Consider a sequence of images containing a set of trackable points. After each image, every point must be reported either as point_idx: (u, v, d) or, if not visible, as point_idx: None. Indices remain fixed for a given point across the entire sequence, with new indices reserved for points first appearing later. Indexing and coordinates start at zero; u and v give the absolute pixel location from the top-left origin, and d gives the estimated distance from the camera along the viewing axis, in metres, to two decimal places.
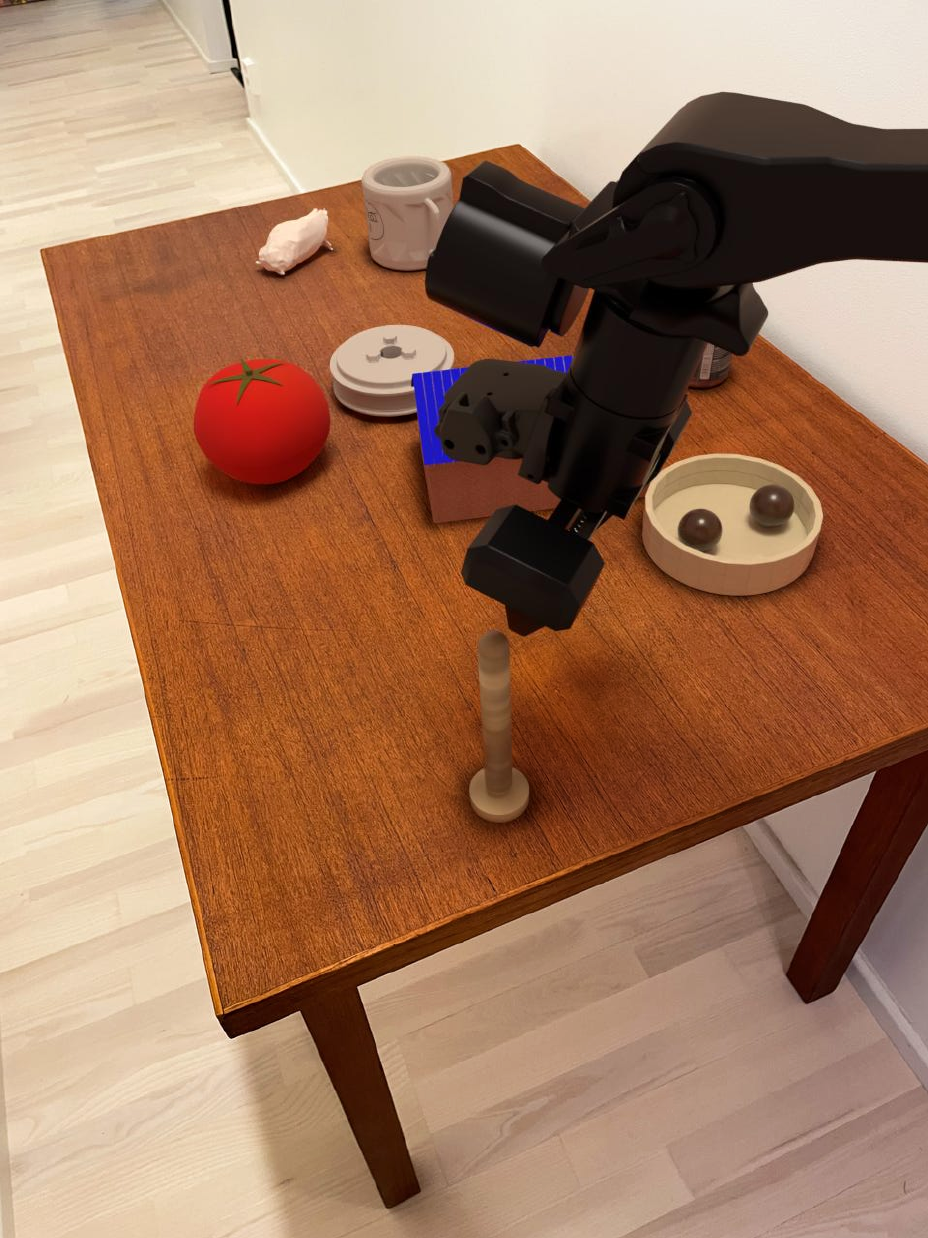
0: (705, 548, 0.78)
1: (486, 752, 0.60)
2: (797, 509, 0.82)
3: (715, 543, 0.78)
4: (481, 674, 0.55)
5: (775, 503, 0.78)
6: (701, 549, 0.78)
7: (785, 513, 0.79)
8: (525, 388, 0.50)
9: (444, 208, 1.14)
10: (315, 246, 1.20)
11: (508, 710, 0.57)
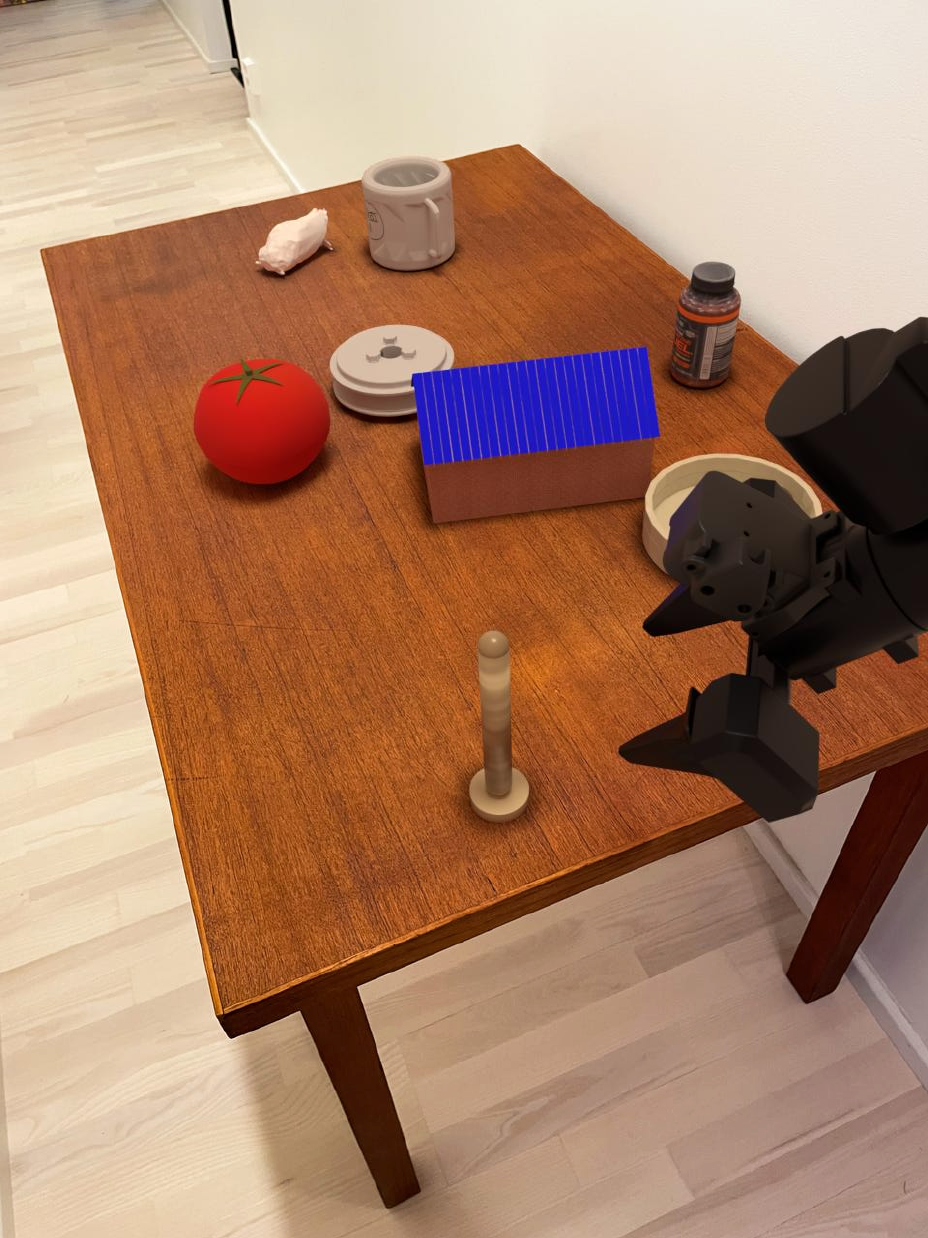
0: None
1: (486, 752, 0.60)
2: None
3: None
4: (481, 674, 0.55)
5: None
6: None
7: None
8: (779, 536, 0.43)
9: (444, 208, 1.14)
10: (315, 246, 1.20)
11: (508, 710, 0.57)
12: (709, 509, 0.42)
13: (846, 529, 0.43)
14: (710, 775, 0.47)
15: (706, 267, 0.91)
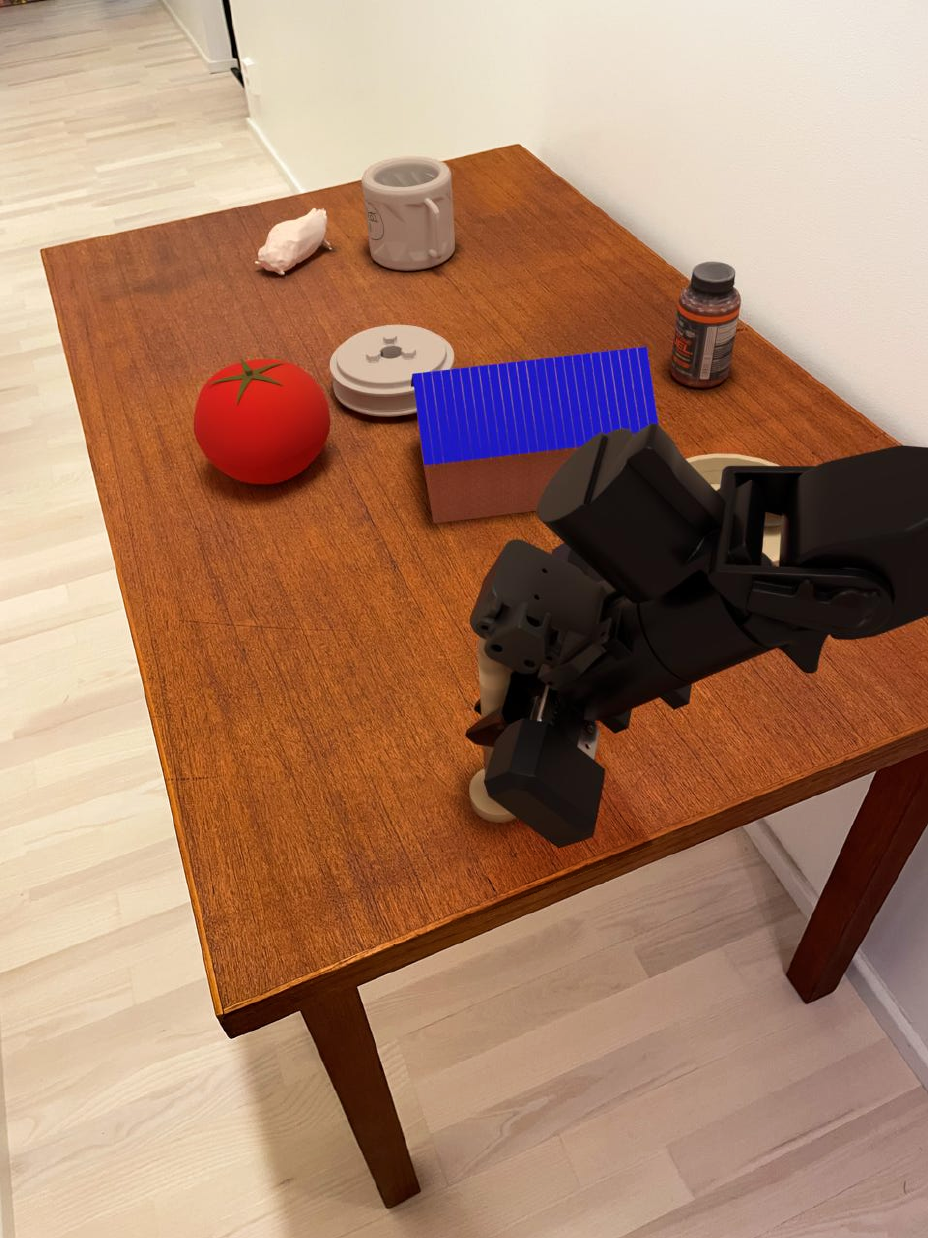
0: None
1: (486, 752, 0.60)
2: None
3: None
4: (481, 674, 0.55)
5: None
6: None
7: None
8: (568, 598, 0.49)
9: (444, 208, 1.14)
10: (314, 246, 1.20)
11: None
12: (504, 575, 0.48)
13: None
14: None
15: (706, 267, 0.91)
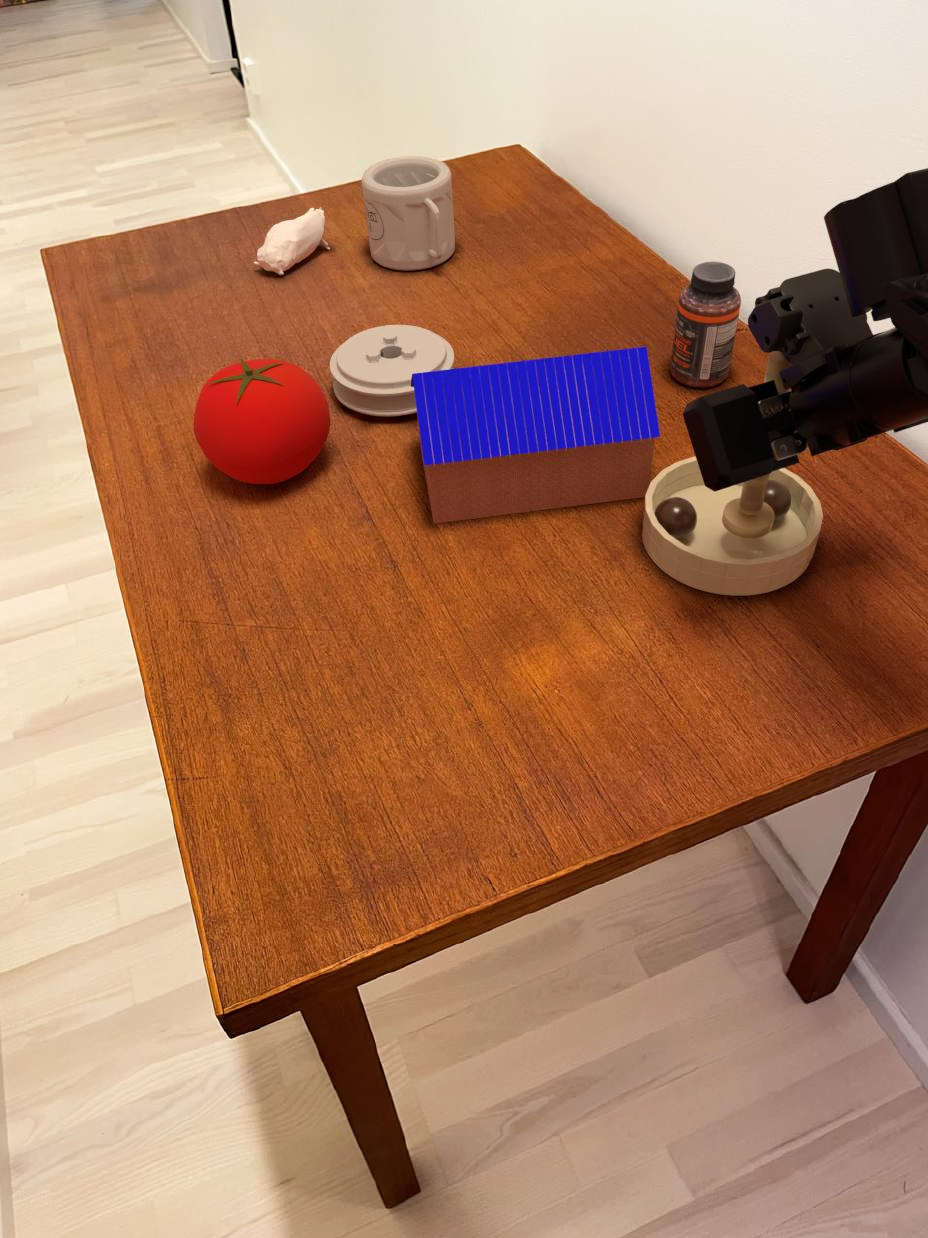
0: (677, 518, 0.78)
1: None
2: (797, 509, 0.82)
3: (681, 508, 0.78)
4: None
5: (770, 490, 0.79)
6: (676, 522, 0.78)
7: (782, 500, 0.79)
8: (835, 322, 0.61)
9: (444, 208, 1.14)
10: (313, 245, 1.20)
11: None
12: (801, 281, 0.62)
13: None
14: None
15: (706, 267, 0.91)
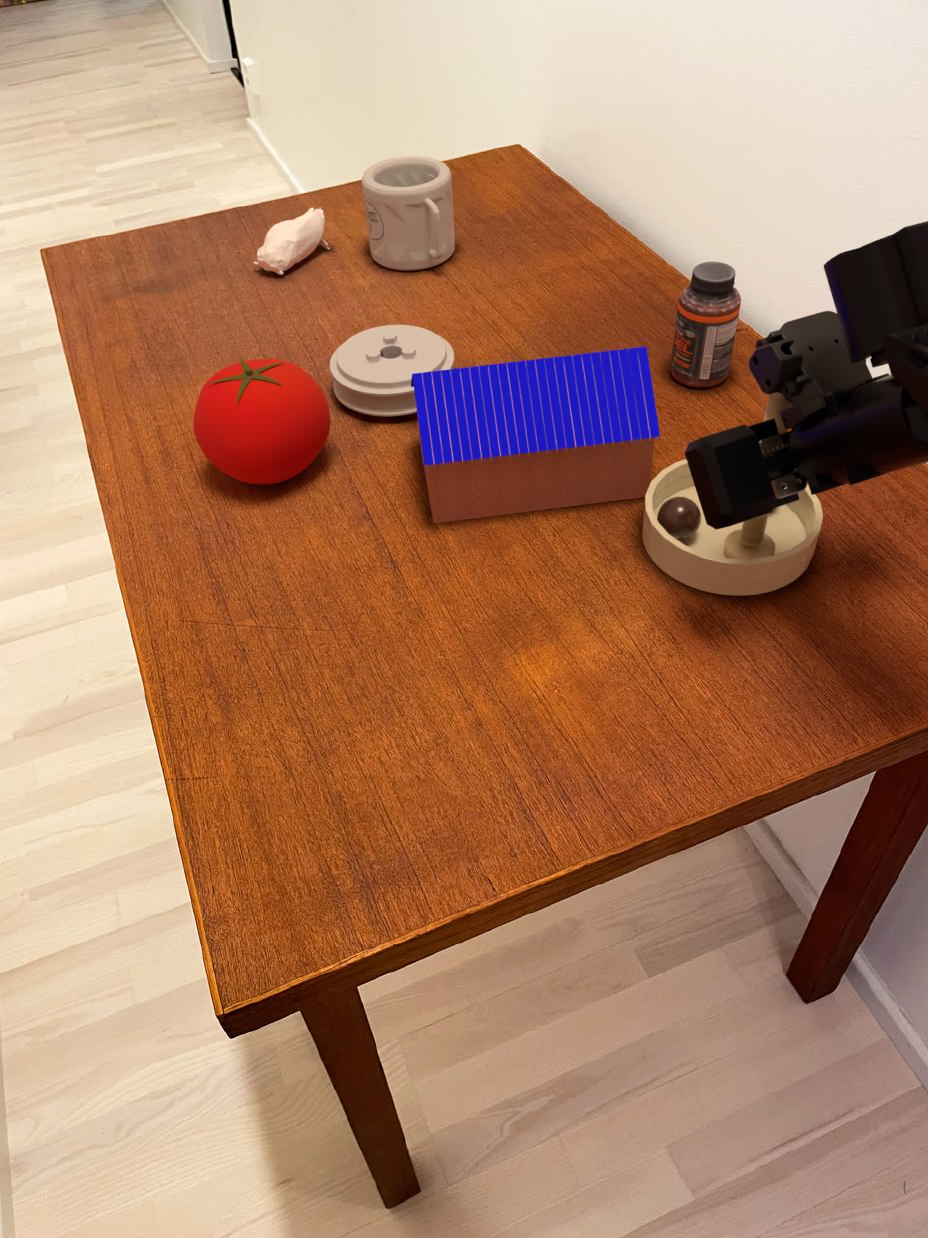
0: (684, 517, 0.78)
1: None
2: (797, 509, 0.82)
3: (688, 508, 0.78)
4: None
5: None
6: (682, 521, 0.78)
7: None
8: (835, 365, 0.62)
9: (444, 208, 1.14)
10: (312, 245, 1.20)
11: None
12: (801, 323, 0.63)
13: None
14: None
15: (706, 267, 0.91)
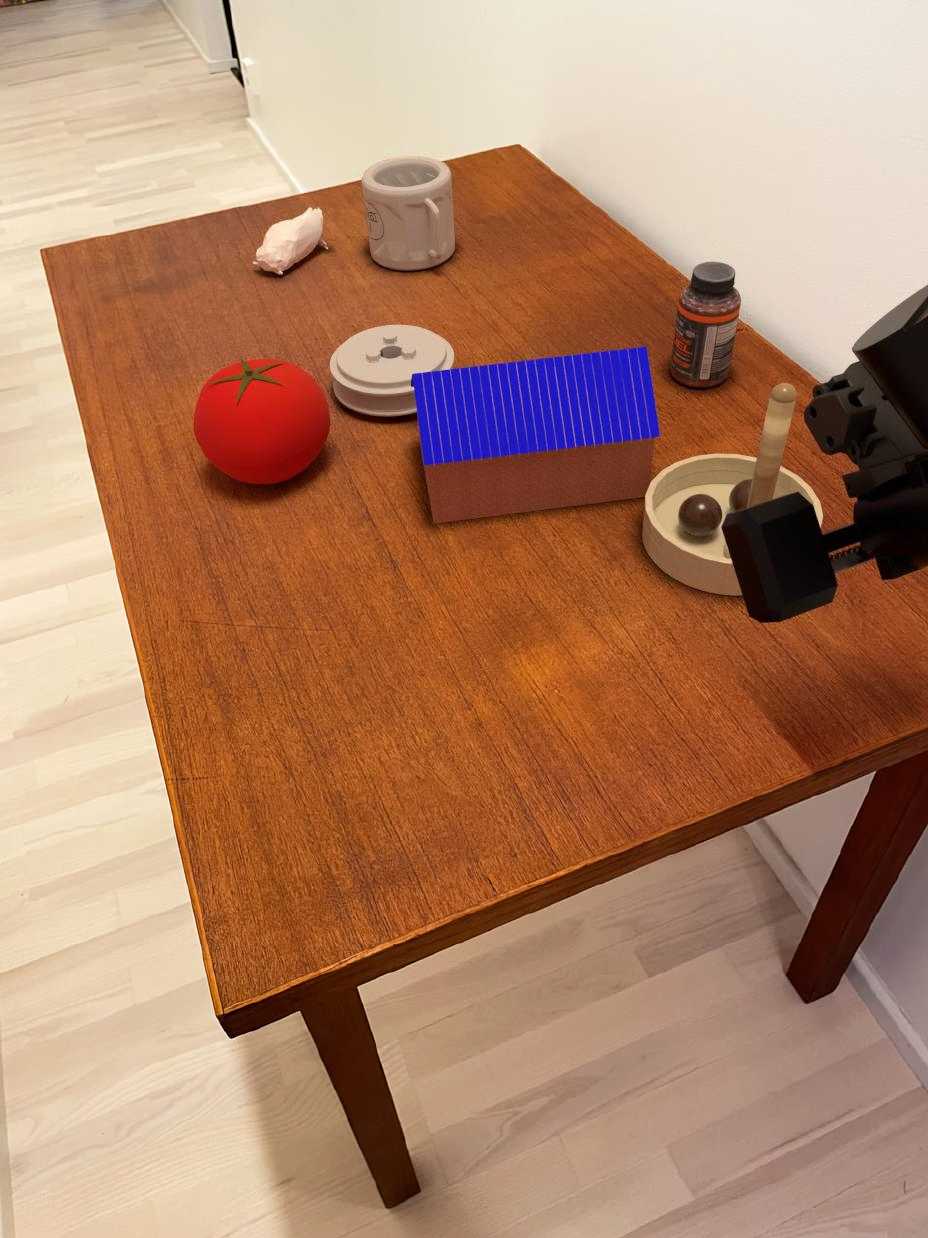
0: (717, 517, 0.78)
1: (749, 496, 0.75)
2: None
3: (721, 513, 0.79)
4: None
5: (736, 492, 0.80)
6: (714, 518, 0.78)
7: None
8: None
9: (444, 208, 1.14)
10: (311, 245, 1.20)
11: (773, 462, 0.71)
12: None
13: None
14: None
15: (706, 267, 0.91)
